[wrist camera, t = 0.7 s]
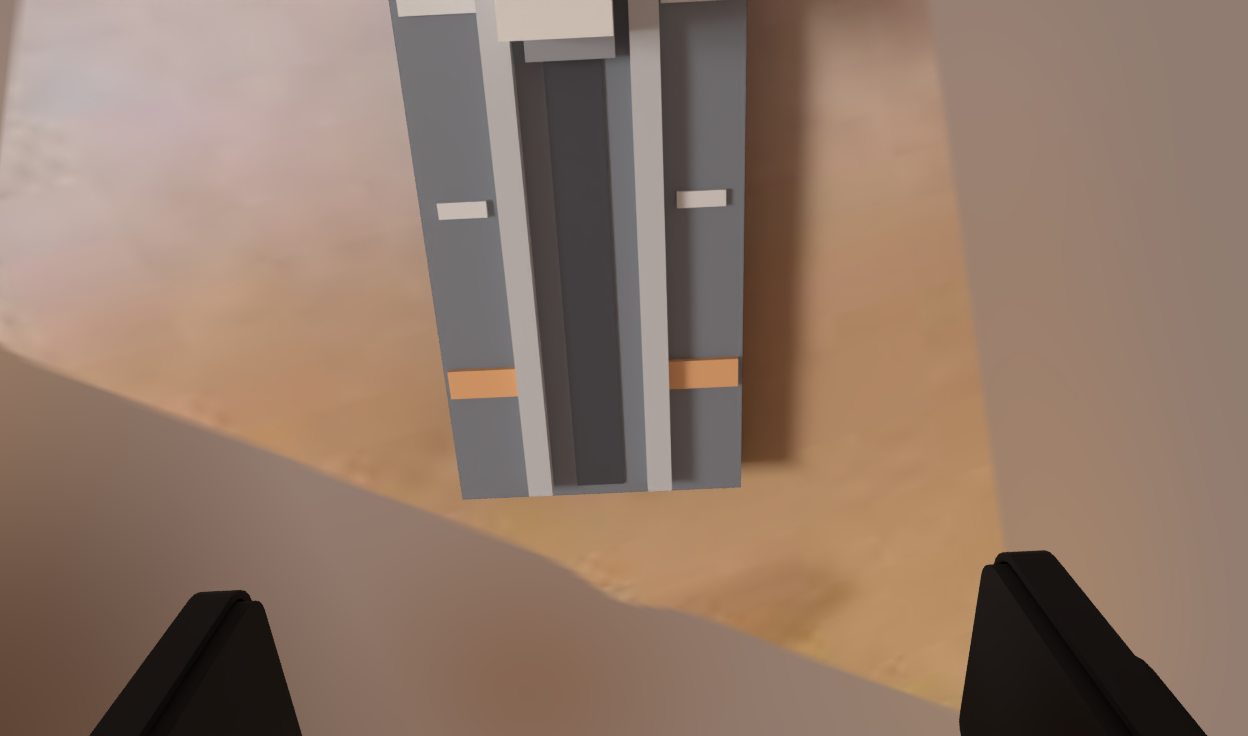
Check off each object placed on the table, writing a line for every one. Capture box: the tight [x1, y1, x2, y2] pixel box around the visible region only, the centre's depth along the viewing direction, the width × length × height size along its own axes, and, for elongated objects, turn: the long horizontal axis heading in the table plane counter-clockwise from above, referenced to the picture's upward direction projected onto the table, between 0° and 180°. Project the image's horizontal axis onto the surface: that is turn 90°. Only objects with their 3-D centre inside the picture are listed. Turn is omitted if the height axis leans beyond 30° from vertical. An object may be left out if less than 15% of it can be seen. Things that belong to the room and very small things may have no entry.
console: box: [389, 0, 747, 500], centre depth 31 cm, size 23×12×3 cm, turn 3°
